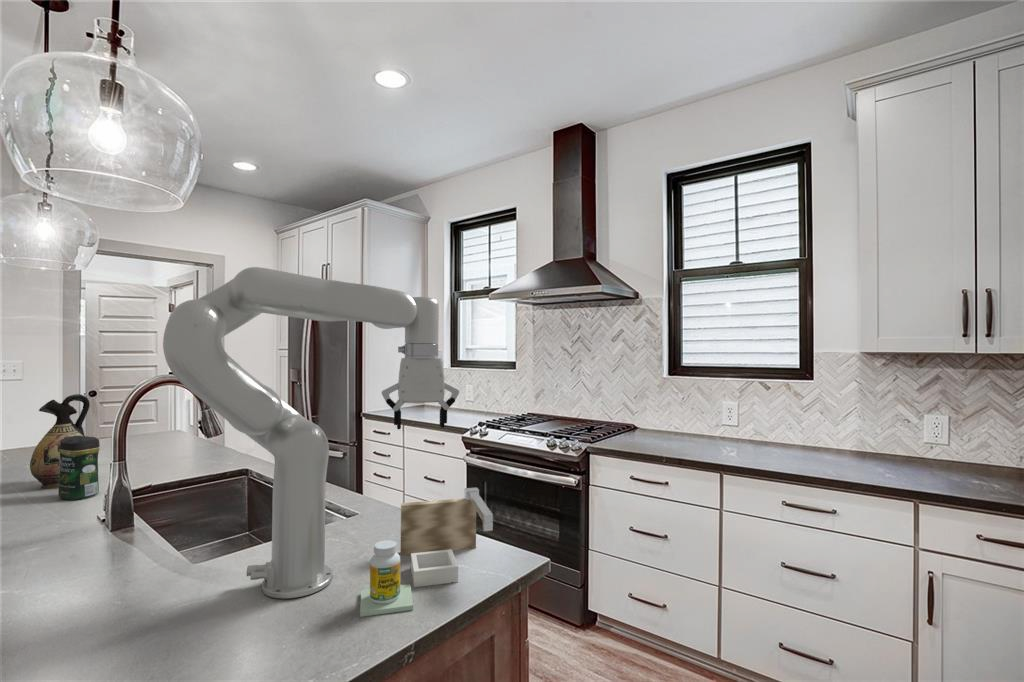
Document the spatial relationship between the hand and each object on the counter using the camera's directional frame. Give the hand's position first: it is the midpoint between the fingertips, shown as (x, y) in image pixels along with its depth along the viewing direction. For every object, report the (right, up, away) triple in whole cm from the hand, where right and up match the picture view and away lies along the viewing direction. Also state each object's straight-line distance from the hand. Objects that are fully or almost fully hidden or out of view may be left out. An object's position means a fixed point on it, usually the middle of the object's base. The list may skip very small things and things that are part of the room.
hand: (420, 427), depth 109 cm
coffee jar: (-112, -28, +39) cm, 122 cm away
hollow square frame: (+5, -28, -11) cm, 30 cm away
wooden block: (+4, -28, +2) cm, 29 cm away
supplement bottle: (-2, -27, -21) cm, 35 cm away
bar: (+13, -18, -4) cm, 23 cm away
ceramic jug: (-128, -29, +52) cm, 141 cm away
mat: (-2, -28, -21) cm, 35 cm away
